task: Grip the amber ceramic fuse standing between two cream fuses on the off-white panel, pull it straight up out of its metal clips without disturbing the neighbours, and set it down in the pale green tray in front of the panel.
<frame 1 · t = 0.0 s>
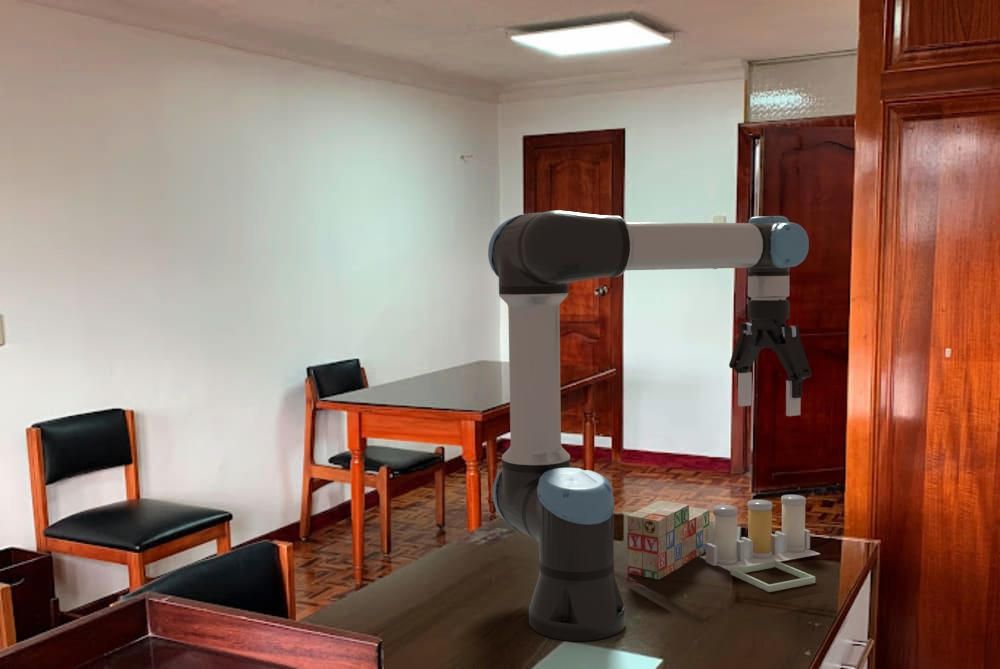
hand: (768, 410, 174), 28 cm above the table, fingers open, 13 cm apart
fuse cream far: (793, 549, 174), point 1 cm above the table, touching fuse panel
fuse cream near: (725, 561, 168), point 1 cm above the table, touching fuse panel
tray: (772, 586, 159), on the table
fuse amber: (759, 555, 171), point 1 cm above the table, touching fuse panel
fuse panel: (759, 563, 171), on the table
stack of blocks: (670, 570, 169), on the table
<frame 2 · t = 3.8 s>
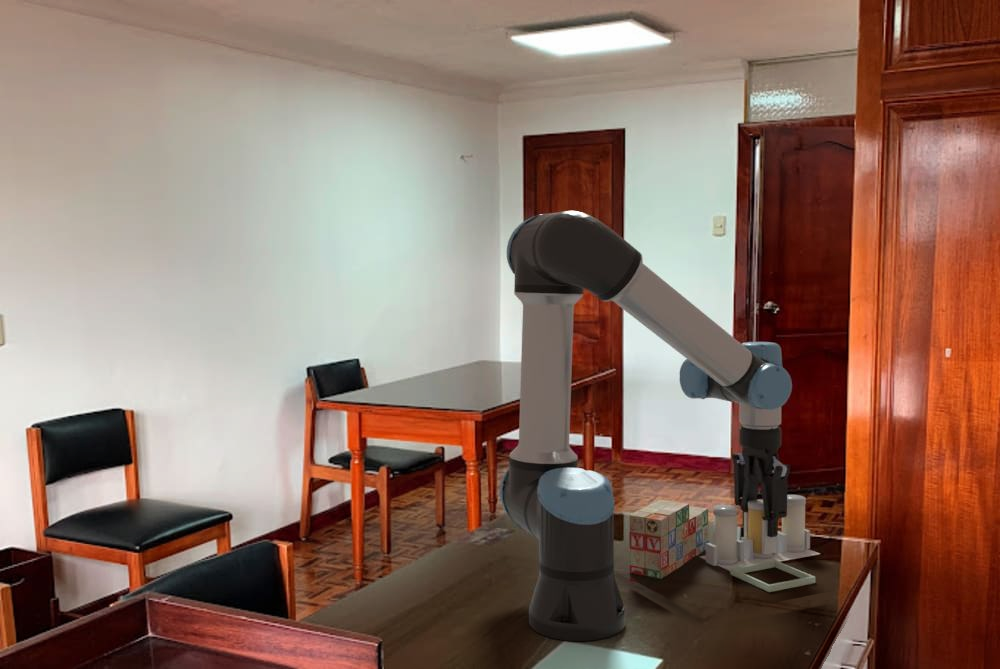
hand: (759, 548, 171), 3 cm above the table, fingers closed on fuse amber, 4 cm apart
fuse amber: (759, 555, 171), point 2 cm above the table, touching fuse panel, gripper
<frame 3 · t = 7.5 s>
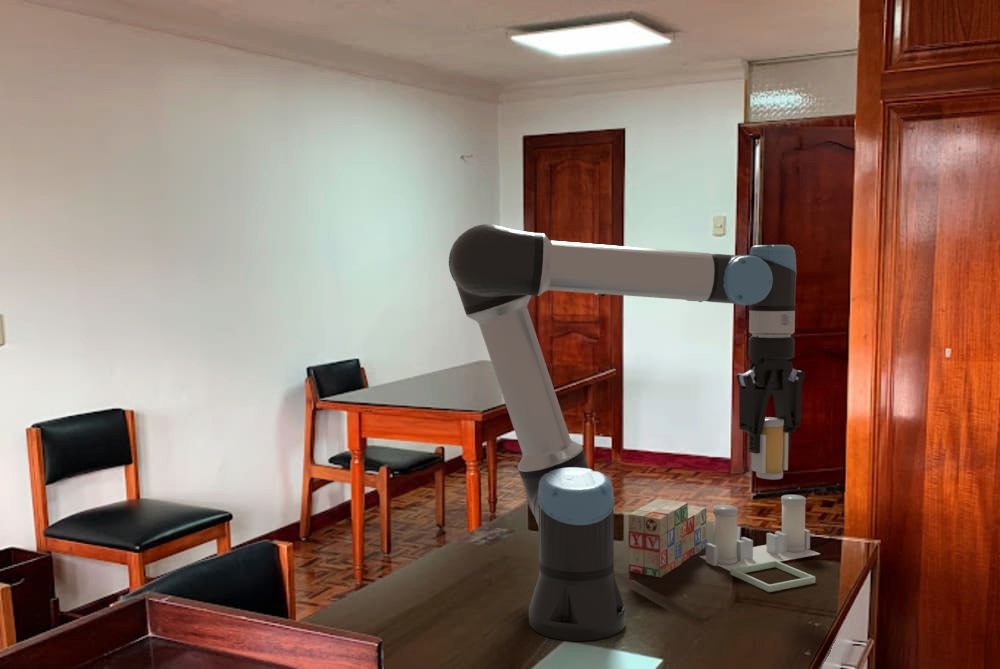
hand: (769, 469, 158), 20 cm above the table, fingers closed on fuse amber, 4 cm apart
fuse amber: (769, 476, 158), point 19 cm above the table, touching gripper
when the fingers open (3 cm above the table, at t = 11.5 s): fuse amber drops 2 cm, resting on tray.
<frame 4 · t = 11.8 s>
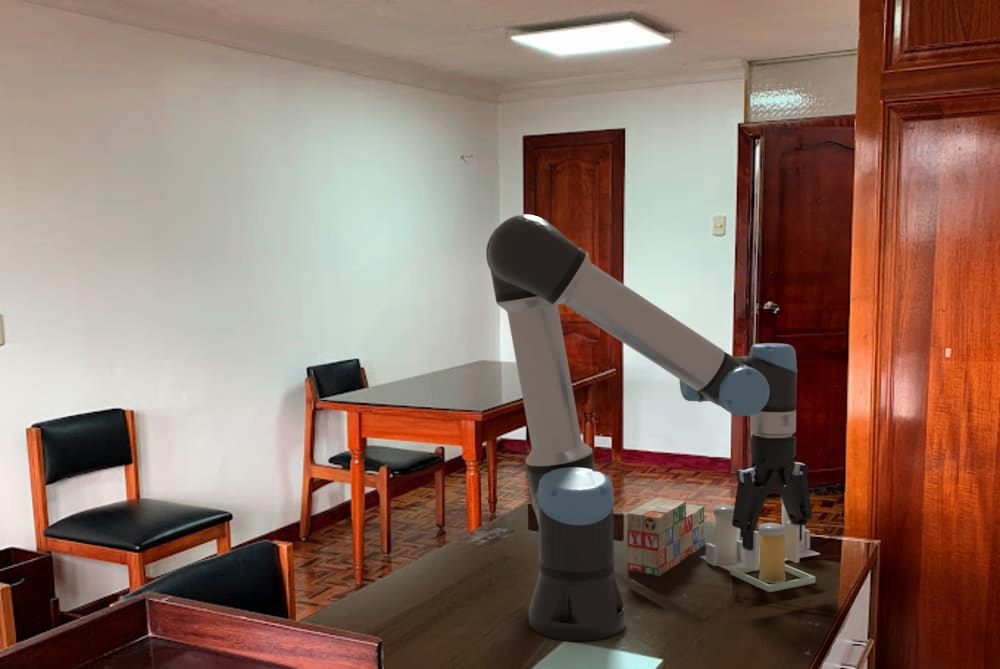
hand: (772, 563, 158), 4 cm above the table, fingers open, 8 cm apart
fuse amber: (772, 582, 159), point 1 cm above the table, touching tray
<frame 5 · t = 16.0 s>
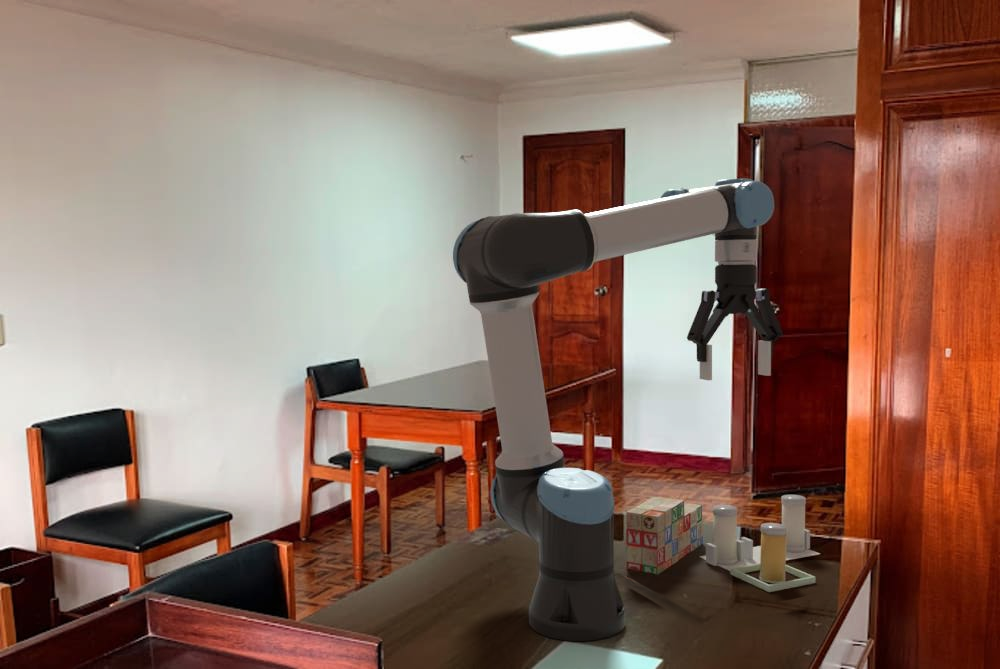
hand: (735, 377, 171), 35 cm above the table, fingers open, 13 cm apart
at the end: fuse amber inside the target area on the tray (0.0 cm from its centre), point 0.7 cm above the tray's base; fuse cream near moved 0.0 cm from its start; fuse cream far moved 0.0 cm from its start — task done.
